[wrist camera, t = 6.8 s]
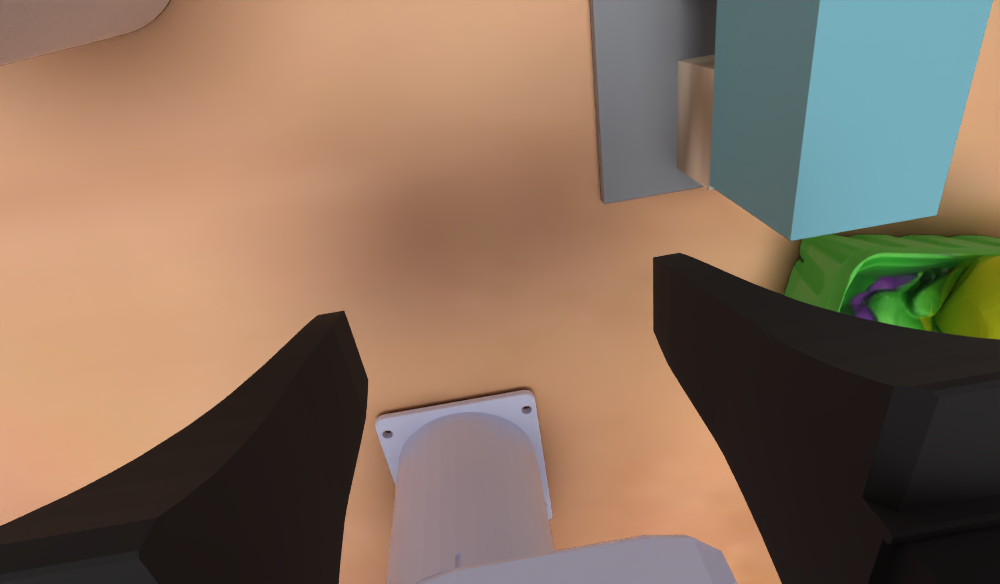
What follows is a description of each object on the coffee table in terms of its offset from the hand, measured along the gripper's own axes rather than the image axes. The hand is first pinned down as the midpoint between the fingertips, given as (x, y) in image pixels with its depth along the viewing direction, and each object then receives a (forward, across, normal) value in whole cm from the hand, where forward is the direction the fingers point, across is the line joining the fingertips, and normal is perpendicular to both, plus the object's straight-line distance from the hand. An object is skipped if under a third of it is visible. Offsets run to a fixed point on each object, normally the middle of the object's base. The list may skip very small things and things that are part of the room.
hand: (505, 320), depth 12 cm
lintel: (+7, -10, -5) cm, 13 cm away
